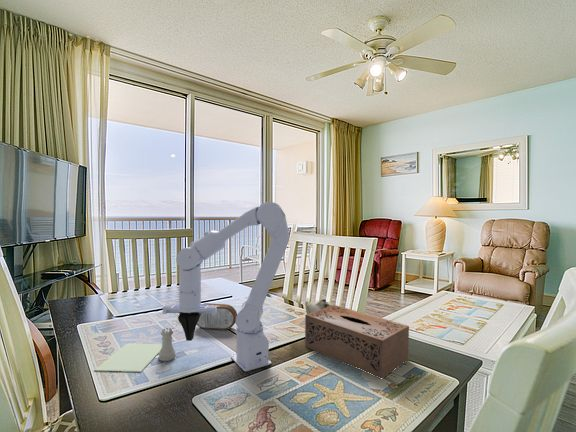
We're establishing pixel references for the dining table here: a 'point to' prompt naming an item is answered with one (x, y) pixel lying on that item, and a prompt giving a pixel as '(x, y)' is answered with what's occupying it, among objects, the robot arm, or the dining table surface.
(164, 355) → the rook chess piece
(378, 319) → the tissue box cover
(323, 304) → the ceramic sculpture
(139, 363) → the mat
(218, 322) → the tin
